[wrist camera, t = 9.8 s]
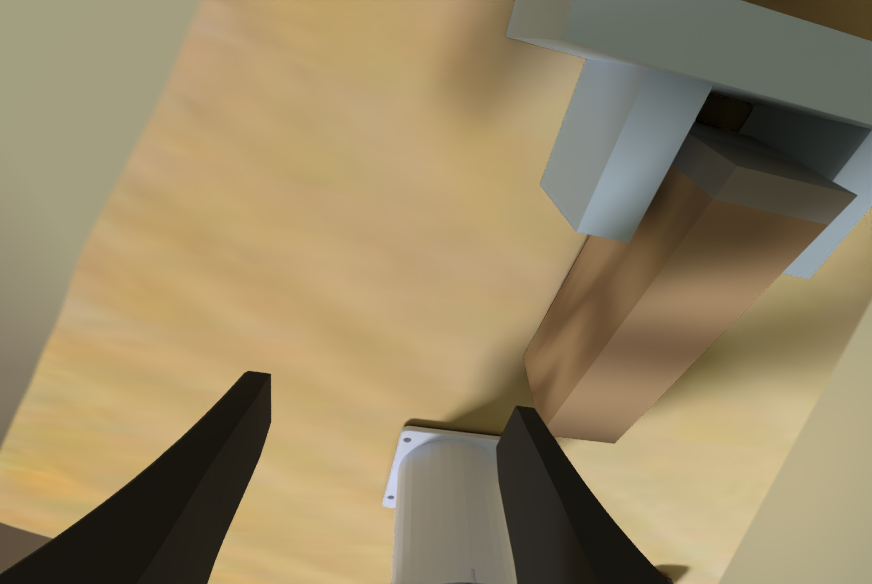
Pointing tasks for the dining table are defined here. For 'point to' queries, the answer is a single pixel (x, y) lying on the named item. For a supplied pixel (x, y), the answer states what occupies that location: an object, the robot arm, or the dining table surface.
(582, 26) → the pale blue bench
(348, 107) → the dining table surface
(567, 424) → the brown wooden block
